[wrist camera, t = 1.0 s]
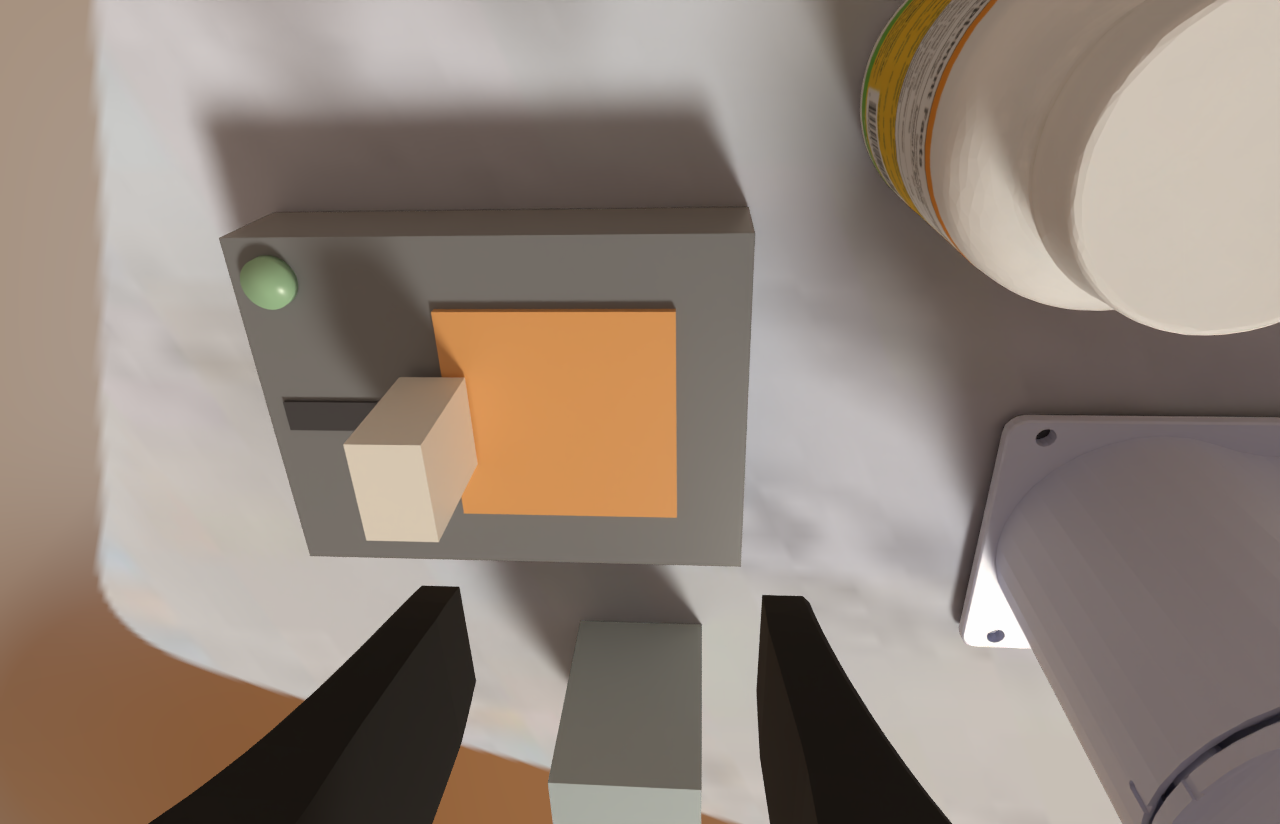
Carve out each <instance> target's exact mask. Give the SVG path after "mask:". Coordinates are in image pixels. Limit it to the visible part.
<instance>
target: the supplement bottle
mask: <svg viewBox="0 0 1280 824" xmlns="http://www.w3.org/2000/svg"><path fill="white" fill-rule="evenodd" d="M860 120H861V129H862V134H863V139H864V142H865V146H866V149H867V151H868V154H869V156H870V158H871V160H872V162H873V164H874V166H875V168H876V169H877V171H878V173H879V174H880V175H881V177H882V178H883V180H884V181H885V182H886V184H887V185H888V186H889V187H890V188H891V189H892V190H893V191H894V192H895V193H896V194H897V195H898V196H899V197H900V198H901V199H902V200H903V201H904V202H905V203H906V204H907V205H908V206H909V207H910V208H911V209H913V210H914V211H915V212H916V213H917V214H918V215H919V216H921V217H922V218H923V219H924V220H925V221H926V222H927V223H928V224H929V225H930V226H931V227H933V228H934V229H935V230H936V231H937V232H938V233H939V234H940V235H941V236H942V237H943V238H945V239H946V240H947V241H948V242H949V243H950V244H951V245H952V246H953V247H954V248H955V249H956V250H957V251H959V252H960V253H961V254H962V255H963V256H964V257H965V258H966V259H967V260H968V261H969V262H970V263H971V264H972V265H974V266H975V267H976V268H978V269H979V270H980V271H982V272H983V273H984V274H986V275H987V276H989V277H990V278H991V279H993V280H994V281H996V282H997V283H999V284H1000V285H1002V286H1003V287H1005V288H1007V289H1008V290H1010V291H1012V292H1014V293H1016V294H1018V295H1020V296H1022V297H1025V298H1027V299H1030V300H1033V301H1036V302H1038V303H1042V304H1046V305H1050V306H1054V307H1059V308H1065V309H1072V310H1092V311H1105V310H1116V311H1118V312H1119V313H1121V314H1123V315H1124V316H1126V317H1128V318H1130V319H1132V320H1134V321H1136V322H1138V323H1141V324H1143V325H1146V326H1149V327H1152V328H1155V329H1158V330H1163V331H1167V332H1172V333H1177V334H1183V335H1224V334H1232V333H1239V332H1246V331H1251V330H1255V329H1259V328H1263V327H1267V326H1270V325H1273V324H1276V323H1279V322H1280V0H905V1H904V3H903V4H902V5H901V6H900V7H899V8H898V9H897V11H896V12H895V13H894V15H893V16H892V17H891V19H890V20H889V22H888V23H887V24H886V26H885V27H884V29H883V30H882V32H881V34H880V36H879V38H878V40H877V41H876V43H875V45H874V48H873V50H872V52H871V55H870V57H869V60H868V63H867V66H866V70H865V74H864V78H863V83H862V89H861V98H860Z"/></svg>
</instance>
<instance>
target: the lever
mask: <svg viewBox="0 0 1280 824" xmlns="http://www.w3.org/2000/svg"><path fill="white" fill-rule="evenodd" d="M343 446H344V450H345V454H346V458H347V462H348V466H349V471H350V475H351V479H352V483H353V487H354V491H355V495H356V500H357V504H358V508H359V512H360V516H361V520H362V524H363V529H364V533H365V537H366V541H408V542H439V541H440V539H441V537H442V535H443V533H444V531H445V529H446V527H447V525H448V523H449V521H450V519H451V517H452V515H453V512H454V510H455V508H456V506H457V504H458V502H459V500H460V498H461V496H462V494H463V492H464V490H465V488H466V486H467V484H468V482H469V480H470V478H471V476H472V474H473V472H474V470H475V468H476V466H477V464H478V463H477V456H476V449H475V442H474V436H473V429H472V422H471V415H470V409H469V402H468V395H467V389H466V382H465V377H399V378H398V379H397V380H396V382H395V383H394V384H393V385H392V386H391V388H390V389H389V390H388V391H387V392H386V394H385V395H384V396H383V397H382V398H381V400H380V401H379V402H378V403H377V404H376V406H375V407H374V408H373V409H372V410H371V412H370V413H369V414H368V415H367V416H366V418H365V419H364V420H363V421H362V422H361V424H360V425H359V426H358V427H357V428H356V430H355V431H354V432H353V433H352V434H351V436H350V437H349V438H348V439H347V440H346V442H345V443H344V444H343Z"/></svg>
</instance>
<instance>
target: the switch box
mask: <svg viewBox="0 0 1280 824" xmlns="http://www.w3.org/2000/svg"><path fill="white" fill-rule="evenodd" d="M219 240H220V243H221V247H222V250H223V254H224V257H225V261H226V264H227V268H228V271H229V275H230V278H231V282H232V285H233V289H234V292H235V295H236V299H237V302H238V306H239V309H240V313H241V316H242V320H243V323H244V327H245V330H246V334H247V337H248V341H249V344H250V348H251V351H252V355H253V358H254V362H255V365H256V369H257V372H258V376H259V379H260V382H261V386H262V389H263V393H264V396H265V400H266V403H267V407H268V410H269V414H270V417H271V421H272V424H273V428H274V431H275V435H276V438H277V442H278V445H279V449H280V452H281V456H282V459H283V463H284V466H285V469H286V473H287V476H288V480H289V483H290V487H291V490H292V494H293V497H294V501H295V504H296V508H297V511H298V515H299V518H300V522H301V525H302V529H303V532H304V536H305V539H306V543H307V546H308V550H309V553H310V556H333V557H374V558H414V559H455V560H495V561H536V562H576V563H617V564H657V565H698V566H738V567H741V548H742V525H743V502H744V478H745V455H746V432H747V409H748V386H749V362H750V339H751V316H752V293H753V270H754V246H755V231H754V227H753V223H752V218H751V214H750V210H749V207H696V208H609V209H522V210H435V211H348V212H274V213H272V214H270V215H267V216H265V217H263V218H261V219H259V220H257V221H254V222H252V223H250V224H248V225H246V226H244V227H242V228H239V229H237V230H235V231H233V232H231V233H229V234H227V235H224V236H222V237H220V238H219ZM399 377H465V382H466V389H467V395H468V402H469V409H470V415H471V422H472V429H473V436H474V442H475V449H476V456H477V463H478V464H477V466H476V468H475V470H474V472H473V474H472V476H471V478H470V480H469V482H468V484H467V486H466V488H465V490H464V492H463V494H462V496H461V498H460V500H459V502H458V504H457V506H456V508H455V510H454V512H453V515H452V517H451V519H450V521H449V523H448V525H447V527H446V529H445V531H444V533H443V535H442V537H441V539H440V541H439V542H408V541H366V537H365V533H364V529H363V524H362V520H361V516H360V512H359V508H358V504H357V500H356V495H355V491H354V487H353V483H352V479H351V475H350V471H349V466H348V462H347V458H346V454H345V450H344V446H343V444H344V443H345V442H346V440H347V439H348V438H349V437H350V436H351V434H352V433H353V432H354V431H355V430H356V428H357V427H358V426H359V425H360V424H361V422H362V421H363V420H364V419H365V418H366V416H367V415H368V414H369V413H370V412H371V410H372V409H373V408H374V407H375V406H376V404H377V403H378V402H379V401H380V400H381V398H382V397H383V396H384V395H385V394H386V392H387V391H388V390H389V389H390V388H391V386H392V385H393V384H394V383H395V382H396V380H397V379H398V378H399Z"/></svg>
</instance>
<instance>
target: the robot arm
mask: <svg viewBox="0 0 1280 824" xmlns="http://www.w3.org/2000/svg"><path fill="white" fill-rule="evenodd" d="M1046 429H1050V430H1051V431H1050V433H1049V434H1048V436H1046V437H1045V438H1042V439H1036V436H1037V434H1038V433H1039V432H1041V431H1042V430H1046ZM992 630H998V631H996V632H995V633H989V632H991V631H992ZM959 633H960V635H961V637H962V639H963V641H964V642H965V643H966V644H968V645H970V646H975V647H1005V648H1031V649H1032V651H1033V652H1034V654H1035V656H1036V658H1037V660H1038V662H1039V664H1040V666H1041V668H1042V670H1043V672H1044V674H1045V676H1046V678H1047V679H1048V681H1049V683H1050V685H1051V687H1052V689H1053V691H1054V693H1055V695H1056V697H1057V699H1058V701H1059V703H1060V705H1061V706H1062V708H1063V710H1064V712H1065V714H1066V716H1067V718H1068V720H1069V722H1070V724H1071V726H1072V728H1073V730H1074V731H1075V733H1076V735H1077V737H1078V739H1079V741H1080V743H1081V745H1082V747H1083V749H1084V751H1085V753H1086V755H1087V757H1088V758H1089V760H1090V762H1091V764H1092V766H1093V768H1094V770H1095V772H1096V774H1097V776H1098V778H1099V780H1100V782H1101V784H1102V785H1103V787H1104V789H1105V791H1106V793H1107V795H1108V797H1109V799H1110V801H1111V803H1112V805H1113V807H1114V809H1115V811H1116V812H1117V814H1118V816H1119V818H1120V820H1121V822H1122V824H1280V417H1199V416H1090V415H1022V416H1017V417H1015V418H1013V419H1011V420H1010V421H1009V422H1008V423H1007V424H1006V425H1005V427H1004V429H1003V431H1002V435H1001V440H1000V444H999V449H998V453H997V458H996V462H995V467H994V471H993V476H992V480H991V485H990V489H989V494H988V498H987V503H986V507H985V512H984V516H983V521H982V525H981V530H980V534H979V539H978V543H977V548H976V552H975V557H974V561H973V566H972V570H971V575H970V579H969V584H968V588H967V593H966V597H965V602H964V606H963V611H962V615H961V620H960V624H959ZM475 683H476V678H475V673H474V667H473V661H472V656H471V650H470V645H469V639H468V633H467V628H466V622H465V616H464V611H463V605H462V599H461V594H460V588H459V587H448V586H421V587H420V588H419V589H418V590H417V591H416V592H415V593H414V594H413V595H412V596H411V597H410V598H409V599H408V600H407V601H406V602H405V603H404V604H403V605H402V606H401V607H400V608H399V609H398V610H397V611H396V612H395V613H394V614H393V615H392V616H391V617H390V618H389V619H388V620H387V621H386V622H385V623H384V624H383V625H382V626H381V627H380V628H379V629H378V630H377V631H376V632H375V633H374V634H373V635H372V636H371V637H370V638H369V639H368V640H367V641H366V642H365V643H364V644H363V645H362V646H361V647H360V648H359V649H358V650H357V651H356V652H355V653H354V654H353V655H352V656H351V657H350V658H349V659H348V660H347V661H346V662H345V663H344V664H343V665H342V666H341V667H340V668H339V669H338V670H337V671H336V672H335V673H334V674H333V675H332V676H331V677H330V678H329V679H328V680H327V681H326V682H324V683H323V684H322V685H321V686H320V687H319V688H318V689H317V690H316V691H315V692H314V693H313V694H312V695H311V696H309V697H308V698H307V699H306V700H305V701H304V702H303V703H302V704H301V705H299V706H298V707H297V708H296V709H295V710H294V711H293V712H292V713H290V715H288V716H287V717H286V718H285V719H284V720H283V721H282V722H281V723H279V724H278V725H277V726H276V727H275V728H274V729H273V730H271V731H270V732H269V733H268V734H267V735H266V736H265V737H263V738H262V739H261V740H260V741H259V742H257V743H256V744H255V745H254V746H253V747H251V748H250V749H249V750H248V751H247V752H245V753H244V754H243V755H242V756H240V757H239V758H238V759H237V760H235V761H234V762H233V763H232V764H230V765H229V766H227V767H226V768H225V769H224V770H222V771H221V772H220V773H218V774H217V775H216V776H214V777H213V778H212V779H211V780H209V781H208V782H207V783H205V784H204V785H203V786H201V787H200V788H199V789H197V790H196V791H195V792H193V793H192V794H191V795H189V796H188V797H186V798H185V799H183V800H182V801H181V802H179V803H178V804H176V805H175V806H173V807H172V808H170V809H169V810H167V811H166V812H165V813H163V814H162V815H160V816H159V817H157V818H156V819H154V820H153V821H152V822H150V823H149V824H432V823H433V820H434V817H435V815H436V812H437V809H438V806H439V804H440V801H441V798H442V796H443V793H444V790H445V787H446V785H447V782H448V779H449V776H450V774H451V771H452V768H453V765H454V762H455V760H456V757H457V754H458V751H459V748H460V745H461V742H462V738H463V734H464V730H465V726H466V722H467V718H468V714H469V709H470V705H471V701H472V696H473V692H474V687H475ZM757 711H758V731H759V748H760V760H761V767H762V774H763V780H764V787H765V793H766V800H767V806H768V813H769V819H770V824H952V823H951V822H950V821H949V819H948V818H947V817H946V816H945V815H944V813H943V812H942V811H941V810H940V808H939V807H938V806H937V805H936V803H935V802H934V801H933V800H932V799H931V797H930V796H929V795H928V793H927V792H926V791H925V790H924V788H923V787H922V786H921V784H920V783H919V782H918V780H917V779H916V778H915V776H914V775H913V774H912V772H911V771H910V770H909V768H908V767H907V766H906V764H905V763H904V761H903V760H902V759H901V757H900V756H899V754H898V753H897V752H896V750H895V749H894V747H893V746H892V745H891V743H890V742H889V740H888V739H887V738H886V736H885V735H884V733H883V732H882V730H881V729H880V727H879V726H878V724H877V723H876V721H875V720H874V718H873V717H872V715H871V713H870V712H869V710H868V709H867V707H866V706H865V704H864V702H863V701H862V699H861V698H860V696H859V694H858V693H857V691H856V690H855V688H854V686H853V685H852V683H851V682H850V680H849V678H848V677H847V675H846V673H845V671H844V670H843V668H842V666H841V665H840V663H839V661H838V659H837V657H836V655H835V654H834V652H833V650H832V648H831V646H830V645H829V643H828V641H827V639H826V637H825V635H824V633H823V631H822V629H821V627H820V625H819V623H818V621H817V619H816V616H815V614H814V612H813V610H812V608H811V605H810V603H809V602H808V601H807V600H806V599H805V598H804V597H803V596H776V595H762V610H761V626H760V643H759V659H758V675H757Z"/></svg>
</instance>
